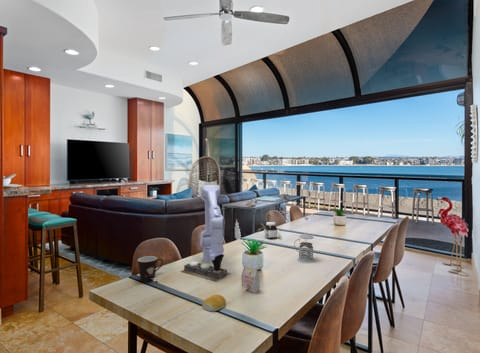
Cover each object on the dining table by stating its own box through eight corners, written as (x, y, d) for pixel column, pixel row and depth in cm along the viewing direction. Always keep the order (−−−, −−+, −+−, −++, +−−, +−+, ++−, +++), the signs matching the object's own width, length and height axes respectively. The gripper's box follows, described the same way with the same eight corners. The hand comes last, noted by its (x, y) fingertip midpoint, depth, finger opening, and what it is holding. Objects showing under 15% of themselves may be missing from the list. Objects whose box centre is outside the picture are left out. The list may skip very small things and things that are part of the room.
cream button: (193, 264, 150) (193, 260, 150) (200, 265, 148) (200, 262, 147) (187, 266, 146) (187, 262, 146) (194, 268, 144) (194, 264, 144)
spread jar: (263, 237, 221) (263, 222, 220) (275, 235, 226) (275, 220, 225) (271, 240, 210) (271, 224, 210) (284, 239, 215) (284, 223, 214)
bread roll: (229, 304, 113) (229, 294, 113) (214, 314, 106) (214, 303, 106) (213, 299, 118) (213, 289, 118) (198, 307, 111) (198, 297, 111)
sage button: (204, 267, 146) (204, 263, 146) (211, 268, 143) (211, 264, 143) (198, 269, 142) (198, 265, 142) (205, 271, 140) (205, 267, 140)
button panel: (196, 267, 154) (195, 260, 154) (231, 276, 142) (231, 268, 141) (179, 274, 144) (179, 266, 144) (216, 284, 132) (216, 276, 131)
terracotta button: (216, 273, 142) (216, 269, 142) (223, 275, 139) (223, 270, 139) (210, 275, 138) (210, 271, 138) (218, 277, 136) (218, 273, 136)
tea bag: (247, 286, 130) (247, 264, 129) (259, 290, 125) (259, 268, 125) (242, 289, 127) (241, 266, 126) (254, 293, 123) (254, 270, 122)
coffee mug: (137, 284, 132) (137, 262, 132) (138, 277, 141) (138, 257, 140) (163, 281, 136) (163, 260, 135) (163, 275, 144) (163, 255, 143)
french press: (315, 263, 160) (315, 218, 159) (294, 262, 162) (294, 218, 161) (314, 258, 169) (314, 216, 169) (294, 257, 172) (294, 215, 171)
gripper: (214, 237, 146) (214, 264, 147) (203, 245, 132) (203, 274, 133) (227, 238, 144) (227, 265, 145) (218, 246, 130) (218, 276, 131)
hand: (217, 270), depth 139 cm, fingers closed
